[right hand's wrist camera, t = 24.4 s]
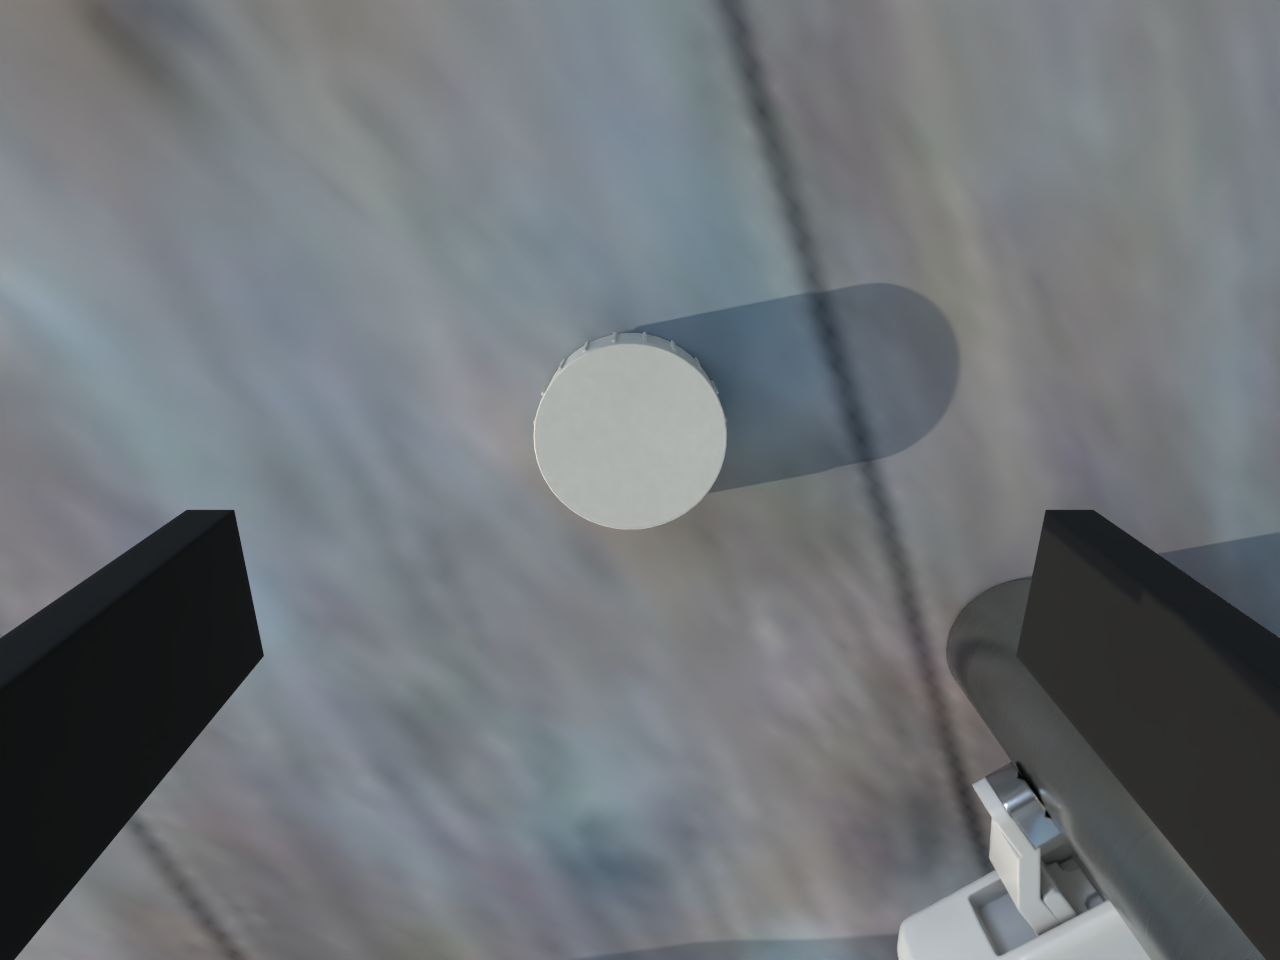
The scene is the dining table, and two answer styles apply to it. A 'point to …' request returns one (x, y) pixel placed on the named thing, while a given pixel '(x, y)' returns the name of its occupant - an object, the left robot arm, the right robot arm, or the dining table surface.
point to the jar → (1085, 791)
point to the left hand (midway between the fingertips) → (1100, 729)
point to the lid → (630, 431)
